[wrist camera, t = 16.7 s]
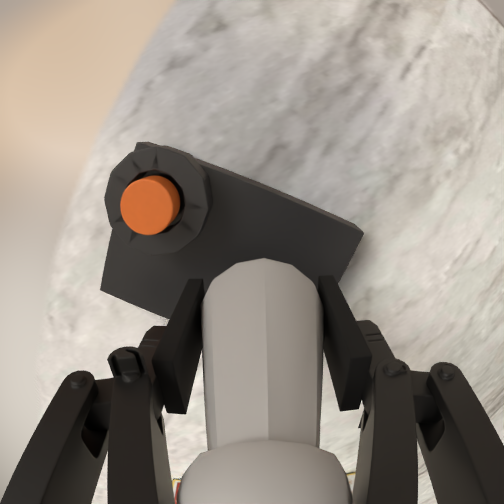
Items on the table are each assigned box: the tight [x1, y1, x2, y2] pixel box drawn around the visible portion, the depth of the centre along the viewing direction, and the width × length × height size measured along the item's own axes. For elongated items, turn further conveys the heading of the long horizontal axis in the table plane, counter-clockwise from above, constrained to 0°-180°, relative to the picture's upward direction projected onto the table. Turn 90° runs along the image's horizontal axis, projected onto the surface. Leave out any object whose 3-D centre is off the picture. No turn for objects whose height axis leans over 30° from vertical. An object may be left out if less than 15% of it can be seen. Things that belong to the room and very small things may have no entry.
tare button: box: [120, 176, 180, 235], centre depth 15 cm, size 3×3×2 cm
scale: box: [100, 142, 364, 319], centre depth 18 cm, size 14×10×4 cm
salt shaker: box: [176, 258, 353, 504], centre depth 11 cm, size 6×6×13 cm
